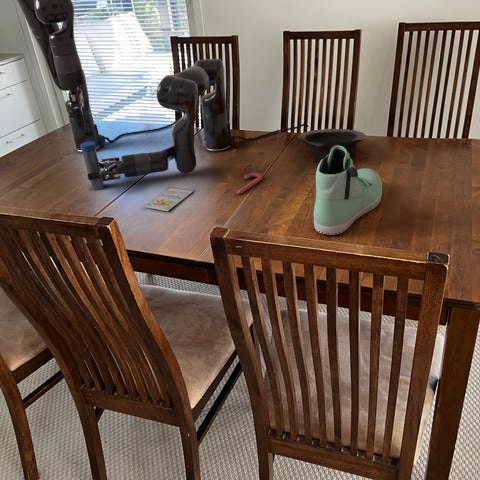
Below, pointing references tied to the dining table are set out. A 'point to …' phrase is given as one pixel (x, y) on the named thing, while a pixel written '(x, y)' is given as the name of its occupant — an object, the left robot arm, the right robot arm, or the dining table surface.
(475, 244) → the dining table surface
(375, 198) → the sneaker
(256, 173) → the candy cane
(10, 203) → the dining table surface
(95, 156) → the jar
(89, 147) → the lid
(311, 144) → the stone bowl
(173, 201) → the baking ingredient package
